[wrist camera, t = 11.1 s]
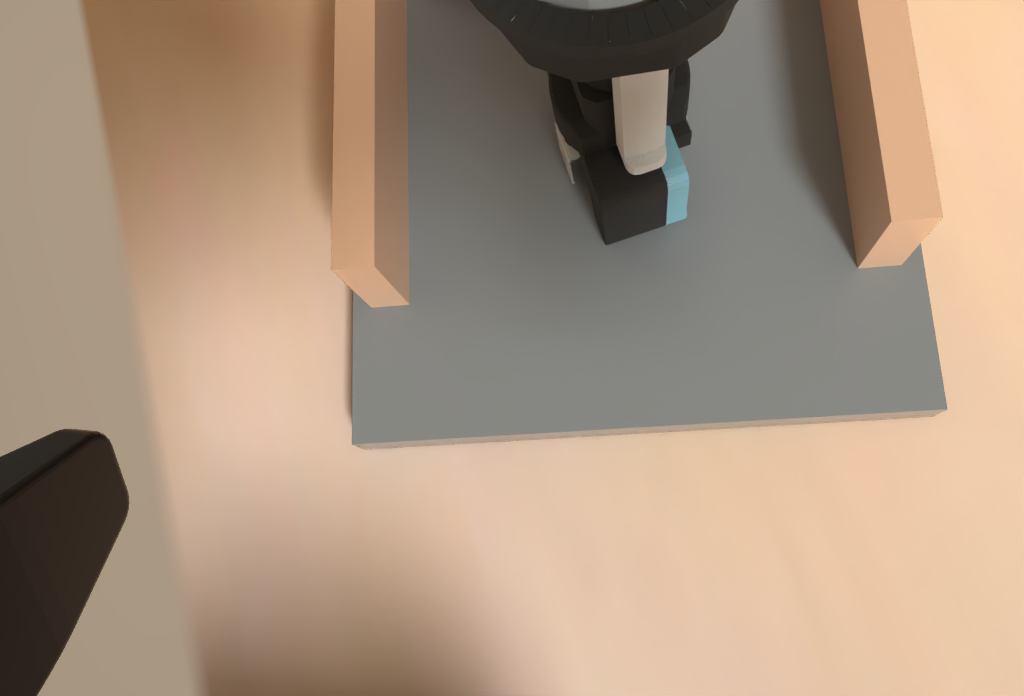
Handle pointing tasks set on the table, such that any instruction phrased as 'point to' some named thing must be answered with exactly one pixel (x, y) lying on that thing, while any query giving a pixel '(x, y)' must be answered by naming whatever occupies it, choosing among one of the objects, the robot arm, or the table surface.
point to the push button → (618, 94)
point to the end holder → (642, 258)
